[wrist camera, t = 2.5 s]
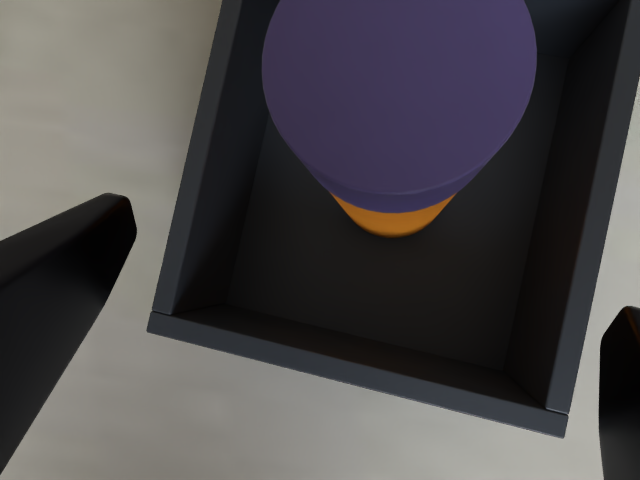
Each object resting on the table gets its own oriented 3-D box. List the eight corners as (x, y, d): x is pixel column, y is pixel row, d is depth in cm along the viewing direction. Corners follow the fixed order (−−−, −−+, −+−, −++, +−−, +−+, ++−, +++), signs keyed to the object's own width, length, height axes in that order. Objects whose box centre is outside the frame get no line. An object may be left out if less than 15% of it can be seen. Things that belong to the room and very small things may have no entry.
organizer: (512, 388, 19) (564, 440, 13) (213, 314, 20) (145, 332, 15) (584, 51, 19) (664, -39, 13) (283, 4, 20) (242, -93, 15)
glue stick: (425, 255, 19) (480, 234, 7) (322, 217, 19) (222, 143, 8) (464, 151, 19) (579, -32, 7) (360, 116, 19) (315, -105, 8)
